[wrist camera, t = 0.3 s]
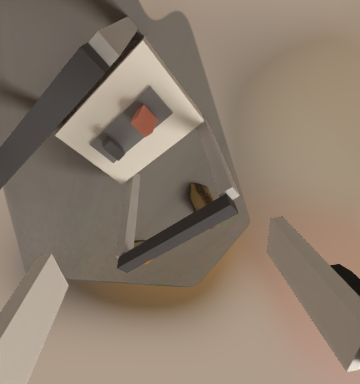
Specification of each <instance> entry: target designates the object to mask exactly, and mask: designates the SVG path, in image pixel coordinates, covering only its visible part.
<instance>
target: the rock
mask: <svg viewBox="0 0 360 384" xmlns="http://www.w3.org/2000/svg"><path fill="white" fill-rule="evenodd" d="M190 197H191V201H192V203H193V205H194V207H195V209H196V211H197V210H199V209H201V208H202V207H204V206H206V205H208V204H209V203H211V202H213V198H212V196H211V193H210V191H209V189H208V188H207V187H205V186H202V185H200V184H193V183H192V184H191V192H190ZM221 223H222V222H221ZM215 226H216V225H215ZM215 226H213V227H212V228H214V227H215ZM212 228H210V229H212Z"/></svg>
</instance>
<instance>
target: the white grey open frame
mask: <svg viewBox="0 0 360 384" xmlns="http://www.w3.org/2000/svg"><path fill="white" fill-rule="evenodd" d="M137 30H138V29H137V27H136V26H135V25H134V23H133V22H132V21H131V19H130V18H129V17H126V18H124V19H121V20H119V21H117V22H115V23H113V24H111V25H109V26H107V27H105V28H103V29H101V30H99V31H97V33H96V34H95V35H94V36H93V38H92V39H91V40H90V41H89V44H90V45H91V47H92V48H93V49H94V50H95V51H96V52H97V53H98V54H99V55H100V56H101V57H102V59H103V60H104V61H105V62H106V63H107V64H108V65H109V66H111V65H112V64H113V63H114V62H115V61H116V60H117V58H118V57H119V56H120V55H121V53H122V52H123V50H124V49H125V48H126V46H127V45H128V43H129V42H130V40H131V39H132V37H133V36H134V35H135V33H136V32H137ZM143 105H145V106H146V107H147V108H148V110H149V111H150V112H151V113H152V114H153V115H154V116H155V117H156V118H157V119H158V121H157V123H156V126H155V128H154V130H153V133H152V134H150V135H148V136H147V137H144V136H143V135H142V134H141V133H140V132H139V131H138V130H137V129H136V128H135V127H134V126H133V125H132V124H131V123H130V122H131V120H132V118H133V116H134V115H135V113H136V111H137V110H138V109H139V108H140V107H141V106H143ZM196 127H197V129H198V132H199V135H200V138H201V141H202V144H203V147H204V151H205V154H206V157H207V160H208V163H209V166H210V169H211V172H212V175H213V178H214V181H215V185H216V188H217V191H218V194H219V196H220V197H221V196H223V195H225V194H226V193H227V195H228V196H229V197H230V198H231V199H232V200H233V199H235V198H236V197H238V196H240V195H239V192H238V190H237V188H236V185H235V183H234V181H233V178H232V176H231V174H230V171H229V169H228V167H227V165H226V162H225V160H224V158H223V155H222V153H221V151H220V148H219V146H218V144H217V141H216V139H215V137H214V134H213V132H212V130H211V127H210V125H209V123H208V122H207V121H206V119H205V118H204V117H202V114H201V112H200V110H199V109H198V108H197V106H196V105H195V104H194V102H193V101H192V100H191V98H190V97H189V96H188V94H187V93H186V92H185V90H184V89H183V88H182V86H181V85H180V84H179V82H178V81H177V80H176V78H175V77H174V76H173V74H172V73H171V72H170V70H169V69H168V68H167V66H166V65H165V63H164V62H163V61H162V59H161V58H160V57H159V55H158V54H157V53H156V51H155V50H154V49H153V47H152V46H151V45H150V43H149V42H148V41H147V39H146V38H145V37H143V38H142V39H141V41H140V42H139V43H138V44H137V45H136V46H135V47H134V48H133V49H132V50H131V51H130V52H129V54H128V55H127V56H126V57H125V58H124V59H123V60H122V61H121V62H120V63H119V64H118V66H117V67H116V68H115V69H114V70H113V71H112V72H111V73H110V74H109V75H108V76H107V78H106V79H105V80H104V81H103V82H102V83H101V84H100V85H99V86H98V87H97V88H96V89H95V91H94V92H93V93H92V94H91V95H90V96H89V97H88V98H87V99H86V100H85V101H84V103H83V104H82V105H81V106H80V107H79V108H78V109H77V110H76V111H75V112H74V113H73V115H72V116H71V117H70V118H69V119H68V120H67V121H66V122H65V123H64V124H63V126H62V127H61V128H60V129H59V131H58V132H57V133H56V135H55V136H56V137H58V138H59V139H60V140H62V141H63V142H64V143H66V144H67V145H69V146H70V147H71V148H73V149H74V150H75V151H77V152H78V153H79V154H81V155H82V156H84V157H85V158H86V159H88V160H89V161H90V162H92V163H93V164H95V165H96V166H97V167H99V168H100V169H101V170H103V171H104V172H105V173H107V174H108V175H110V176H111V177H112V178H114V179H115V180H116V181H118V182H119V183H121V184H123V183H124V182H126V181H127V180H128V181H127V187H126V193H125V199H124V205H123V211H122V218H121V224H120V230H119V236H118V242H117V248H116V254H115V257H117V258H119V256H121V255H123V254H124V253H126V252H128V251H129V250H131V249H133V248H134V238H135V228H136V217H137V206H138V196H139V185H140V175H139V174H138V173H137V172H139V171H140V170H141V169H143V168H144V167H145V166H147V165H148V164H149V163H150V162H152V161H153V160H154V159H156V158H157V157H158V156H160V155H161V154H162V153H163V152H165V151H166V150H167V149H169V148H170V147H171V146H173V145H174V144H175V143H176V142H178V141H179V140H180V139H182V138H183V137H184V136H186V135H187V134H188V133H189V132H191V131H192V130H193V129H195V128H196ZM108 136H109V137H111V138H112V139H113V140H114V141H115V142H116V143H118V144H119V145H120V146H121V147H122V148H123V149H124V151H125V155H124V156H123V157H122V158H121V159H120V160H119V161H118V160H117V159H115V158H114V157H113V156H112V155H110V154H109V153H108V152H107V151H105V150H104V149H103V145H102V143H103V142H104V141H105V140H106V139H107V137H108Z"/></svg>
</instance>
